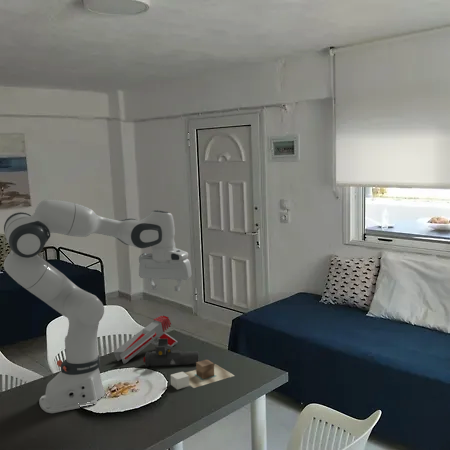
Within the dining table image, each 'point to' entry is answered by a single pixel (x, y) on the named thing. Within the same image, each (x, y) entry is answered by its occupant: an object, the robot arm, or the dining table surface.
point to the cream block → (179, 380)
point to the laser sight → (169, 356)
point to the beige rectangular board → (218, 375)
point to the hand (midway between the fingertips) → (165, 290)
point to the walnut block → (205, 369)
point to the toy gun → (145, 339)
